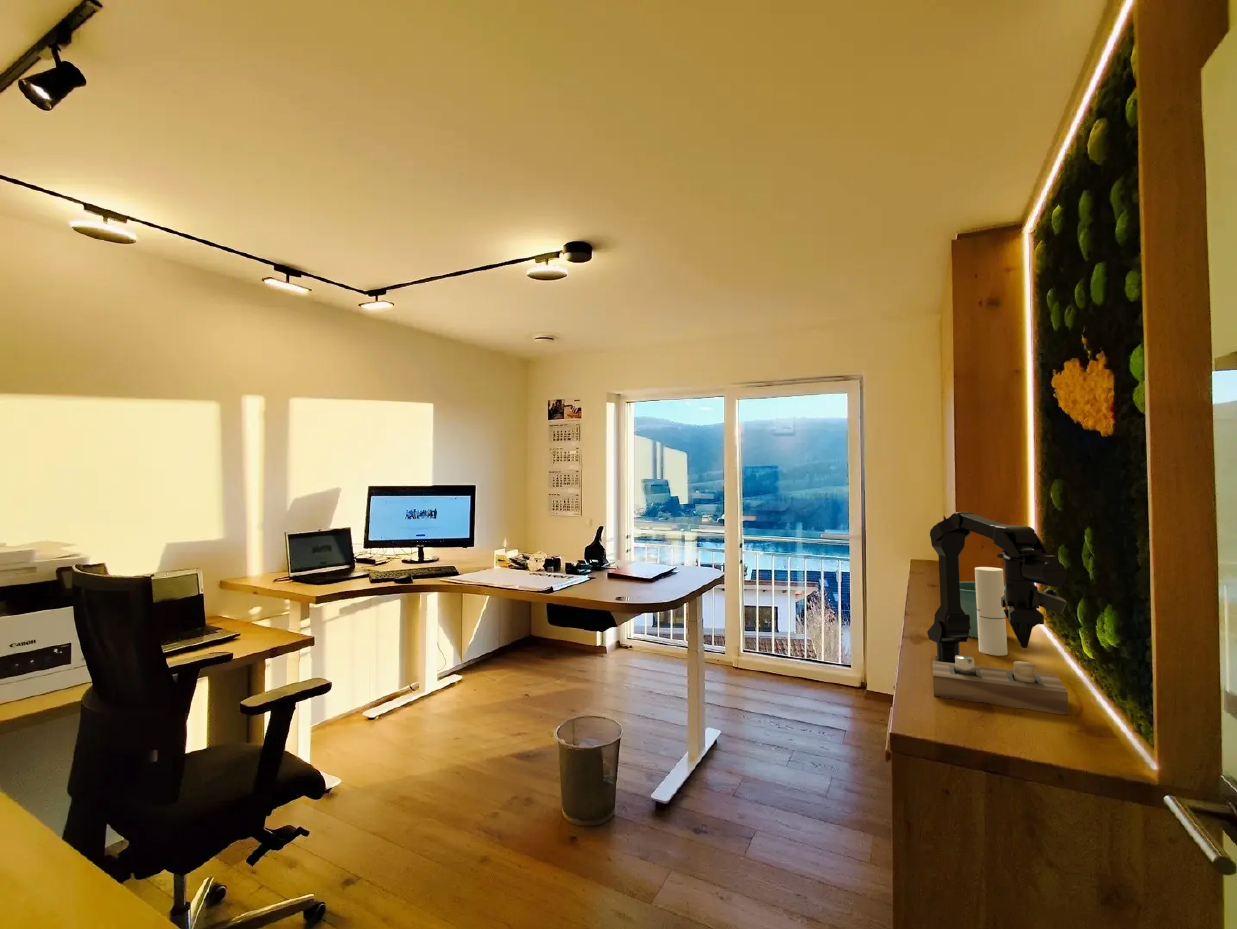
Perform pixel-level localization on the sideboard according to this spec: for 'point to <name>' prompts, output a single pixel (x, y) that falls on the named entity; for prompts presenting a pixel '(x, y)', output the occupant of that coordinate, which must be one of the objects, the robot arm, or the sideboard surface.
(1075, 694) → the sideboard surface
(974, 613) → the flower pot
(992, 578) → the cylindrical container
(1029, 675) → the beech peg
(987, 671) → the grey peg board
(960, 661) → the metal peg
